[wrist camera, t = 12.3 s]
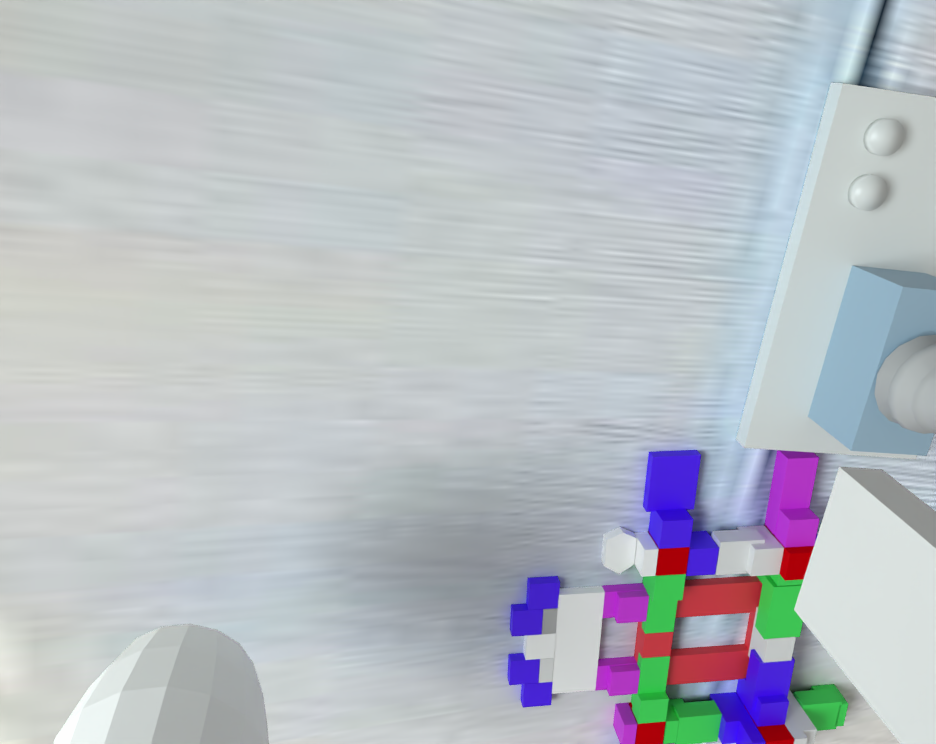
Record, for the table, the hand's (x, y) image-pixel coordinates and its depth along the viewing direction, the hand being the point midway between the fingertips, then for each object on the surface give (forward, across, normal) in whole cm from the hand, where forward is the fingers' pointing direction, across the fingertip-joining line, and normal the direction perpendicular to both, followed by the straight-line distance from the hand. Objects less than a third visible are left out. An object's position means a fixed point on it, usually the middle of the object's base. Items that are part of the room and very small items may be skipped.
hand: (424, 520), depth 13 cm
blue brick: (+26, +25, -4) cm, 36 cm away
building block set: (+28, +20, -23) cm, 41 cm away
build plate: (+27, +25, -1) cm, 37 cm away
